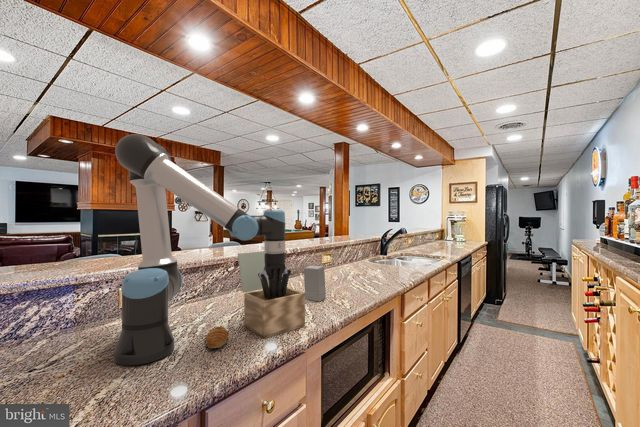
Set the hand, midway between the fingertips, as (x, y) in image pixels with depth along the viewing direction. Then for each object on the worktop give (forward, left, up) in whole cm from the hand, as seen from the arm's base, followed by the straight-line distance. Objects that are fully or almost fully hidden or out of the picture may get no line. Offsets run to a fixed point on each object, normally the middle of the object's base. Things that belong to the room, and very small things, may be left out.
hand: (275, 317), depth 108 cm
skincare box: (+33, +17, -4) cm, 37 cm away
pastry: (-25, -2, -4) cm, 25 cm away
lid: (0, +7, +9) cm, 11 cm away
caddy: (0, 0, -3) cm, 3 cm away
